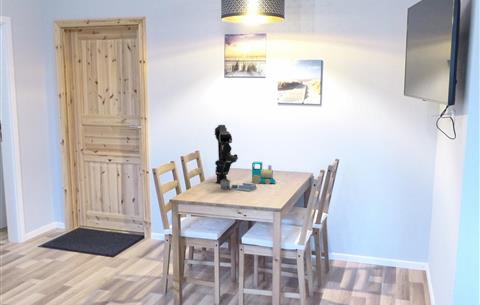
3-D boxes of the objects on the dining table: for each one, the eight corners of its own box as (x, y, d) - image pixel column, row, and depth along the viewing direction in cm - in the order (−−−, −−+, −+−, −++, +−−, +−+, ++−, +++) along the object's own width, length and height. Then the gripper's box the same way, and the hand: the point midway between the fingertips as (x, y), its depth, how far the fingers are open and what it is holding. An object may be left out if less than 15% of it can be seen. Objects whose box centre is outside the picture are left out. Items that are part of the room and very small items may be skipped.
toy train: (274, 184, 334) (274, 164, 331) (251, 183, 337) (251, 163, 335) (276, 182, 341) (276, 162, 339) (253, 181, 345) (253, 161, 342)
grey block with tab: (220, 189, 319) (220, 179, 318) (223, 188, 322) (223, 178, 321) (227, 189, 317) (227, 180, 316) (229, 188, 320) (229, 179, 319)
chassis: (230, 189, 317) (230, 184, 317) (236, 186, 327) (236, 181, 327) (250, 191, 311) (250, 187, 311) (256, 188, 321) (256, 183, 321)
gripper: (230, 153, 304) (230, 176, 306) (241, 149, 321) (241, 171, 323) (214, 152, 308) (214, 175, 311) (226, 148, 325) (226, 170, 328)
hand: (225, 173), depth 318 cm, fingers open, 9 cm apart
